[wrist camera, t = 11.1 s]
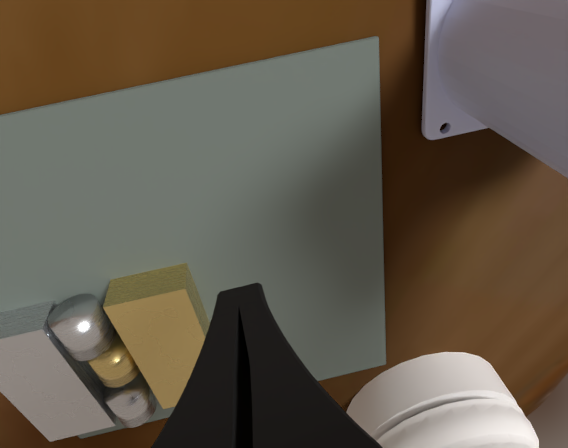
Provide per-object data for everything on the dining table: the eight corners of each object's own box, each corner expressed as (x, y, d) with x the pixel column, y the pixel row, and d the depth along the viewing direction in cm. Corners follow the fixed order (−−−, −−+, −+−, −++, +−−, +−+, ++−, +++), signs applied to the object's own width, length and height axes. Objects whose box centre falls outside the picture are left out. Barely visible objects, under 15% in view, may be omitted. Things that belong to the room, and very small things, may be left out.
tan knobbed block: (226, 366, 27) (228, 399, 25) (127, 389, 26) (121, 425, 24) (186, 262, 21) (185, 294, 19) (62, 290, 21) (48, 325, 19)
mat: (376, 36, 17) (378, 37, 17) (384, 360, 30) (386, 364, 29) (-169, 150, 16) (-175, 153, 16) (81, 434, 29) (80, 438, 28)
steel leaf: (158, 387, 27) (155, 422, 25) (59, 411, 26) (48, 448, 24) (101, 289, 22) (91, 323, 20) (-23, 317, 21) (-46, 355, 19)
